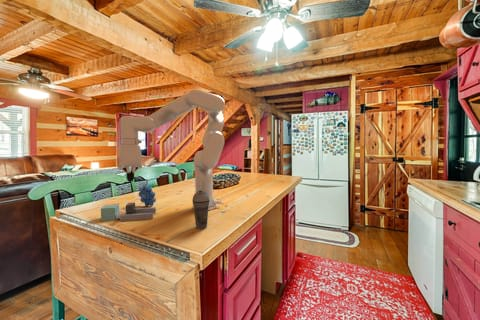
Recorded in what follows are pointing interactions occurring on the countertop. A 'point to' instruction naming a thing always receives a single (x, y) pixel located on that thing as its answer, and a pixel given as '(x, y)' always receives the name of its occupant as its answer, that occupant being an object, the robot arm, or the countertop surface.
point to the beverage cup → (201, 208)
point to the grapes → (147, 195)
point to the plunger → (127, 210)
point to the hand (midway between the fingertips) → (130, 181)
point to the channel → (139, 214)
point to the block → (109, 212)
